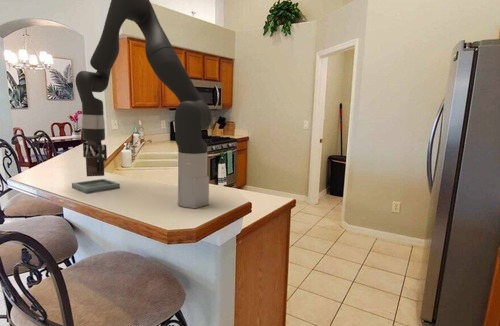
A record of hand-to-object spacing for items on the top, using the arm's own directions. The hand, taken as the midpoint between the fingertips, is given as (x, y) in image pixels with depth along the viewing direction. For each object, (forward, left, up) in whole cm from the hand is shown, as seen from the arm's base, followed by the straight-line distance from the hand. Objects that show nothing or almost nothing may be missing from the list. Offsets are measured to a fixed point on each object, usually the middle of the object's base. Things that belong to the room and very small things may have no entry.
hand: (95, 170), depth 119 cm
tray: (0, 0, -7) cm, 7 cm away
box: (0, 0, -2) cm, 2 cm away
